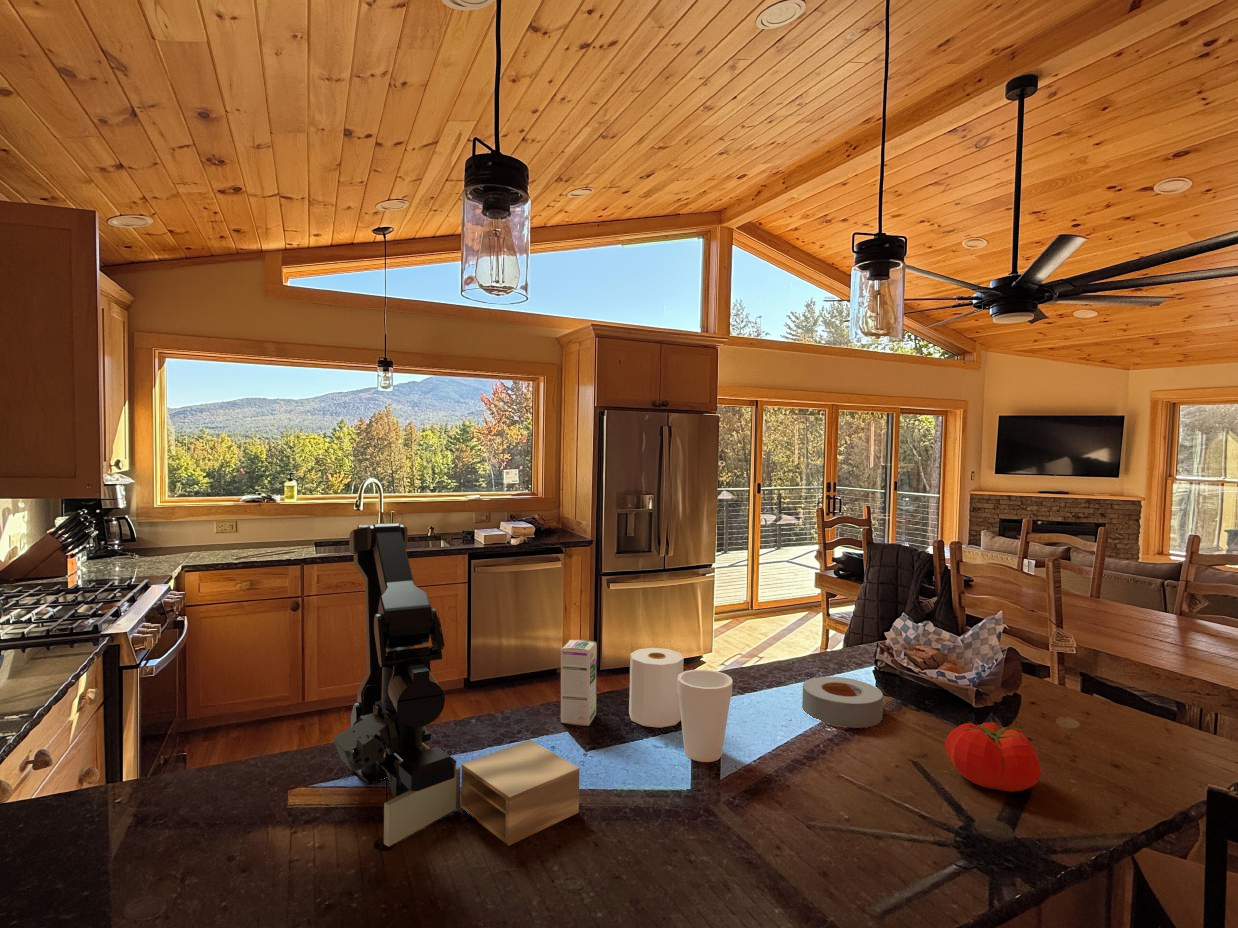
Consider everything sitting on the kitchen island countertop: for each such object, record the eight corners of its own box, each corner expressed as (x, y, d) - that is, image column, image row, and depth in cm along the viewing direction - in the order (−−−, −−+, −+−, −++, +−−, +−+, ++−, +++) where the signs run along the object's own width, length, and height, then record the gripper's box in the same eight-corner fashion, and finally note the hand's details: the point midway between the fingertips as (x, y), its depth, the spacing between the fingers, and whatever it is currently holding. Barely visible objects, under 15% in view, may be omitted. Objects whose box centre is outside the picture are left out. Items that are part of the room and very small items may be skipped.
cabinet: (461, 808, 97) (461, 763, 97) (529, 780, 105) (529, 739, 105) (508, 845, 88) (509, 796, 88) (578, 812, 97) (579, 767, 96)
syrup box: (589, 726, 126) (591, 649, 125) (559, 723, 127) (560, 647, 126) (596, 714, 131) (598, 640, 131) (567, 711, 133) (568, 638, 132)
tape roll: (790, 699, 142) (791, 675, 142) (860, 698, 143) (860, 674, 143) (820, 730, 127) (821, 704, 126) (897, 729, 128) (898, 702, 128)
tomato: (1051, 782, 108) (1053, 728, 108) (1033, 813, 99) (1035, 754, 99) (958, 754, 118) (960, 704, 117) (934, 779, 109) (936, 725, 108)
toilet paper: (618, 718, 130) (620, 656, 129) (647, 702, 138) (649, 643, 138) (663, 732, 124) (665, 667, 123) (691, 714, 132) (692, 653, 132)
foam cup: (668, 759, 113) (670, 683, 113) (684, 737, 122) (685, 666, 122) (723, 770, 110) (726, 692, 109) (736, 747, 118) (738, 674, 118)
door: (456, 803, 97) (456, 765, 97) (461, 806, 97) (461, 767, 96) (383, 844, 87) (383, 801, 87) (388, 847, 87) (389, 804, 86)
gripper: (316, 686, 91) (313, 797, 92) (375, 738, 78) (371, 867, 79) (394, 669, 99) (391, 771, 100) (460, 713, 86) (455, 831, 87)
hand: (400, 807), depth 91 cm, fingers closed
